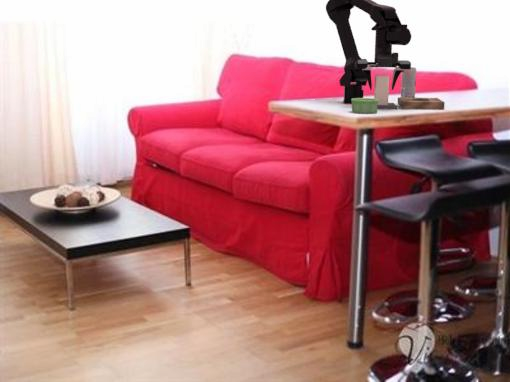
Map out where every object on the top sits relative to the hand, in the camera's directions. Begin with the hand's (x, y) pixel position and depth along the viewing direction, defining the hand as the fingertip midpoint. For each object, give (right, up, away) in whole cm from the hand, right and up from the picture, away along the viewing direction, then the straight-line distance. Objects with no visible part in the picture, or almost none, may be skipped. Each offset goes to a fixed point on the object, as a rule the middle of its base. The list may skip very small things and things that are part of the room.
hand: (381, 89), depth 266 cm
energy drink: (+14, 0, +26) cm, 30 cm away
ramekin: (-8, -9, -13) cm, 18 cm away
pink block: (0, -5, +1) cm, 5 cm away
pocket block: (+14, -6, +3) cm, 15 cm away
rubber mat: (0, -6, +1) cm, 6 cm away
